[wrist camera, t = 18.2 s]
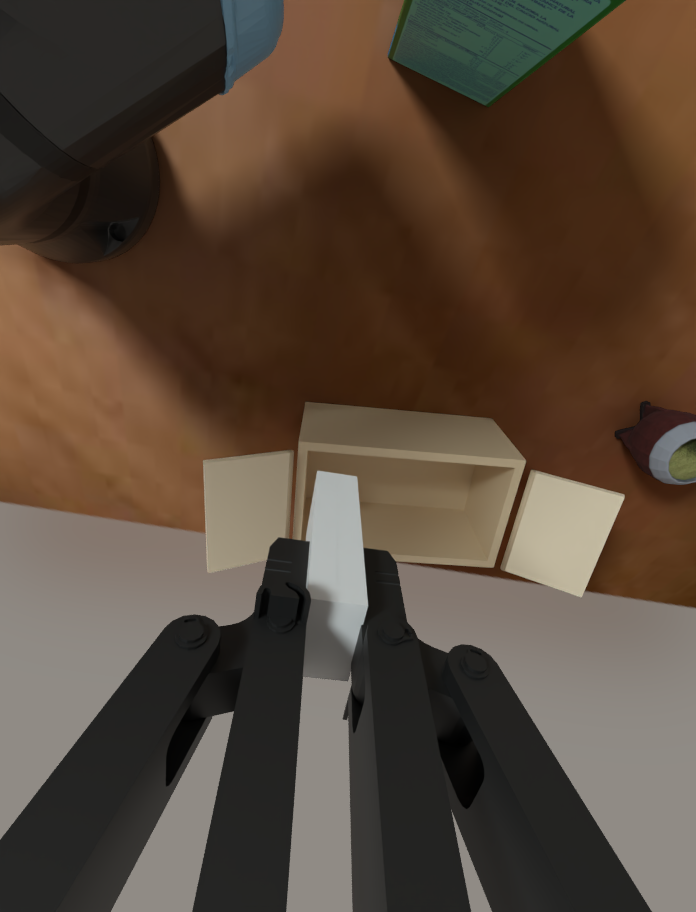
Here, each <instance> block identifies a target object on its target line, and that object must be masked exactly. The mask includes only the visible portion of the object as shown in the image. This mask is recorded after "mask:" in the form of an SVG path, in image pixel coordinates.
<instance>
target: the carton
mask: <svg viewBox="0 0 696 912" xmlns="http://www.w3.org/2000/svg"><path fill="white" fill-rule="evenodd" d="M525 463H526V460H525V458H524V457H523V456H522V455H521V453H520V452H519V451H518V450H517V449H516V447H515V446H514V445H513V444H512V442H511V441H510V440H509V439H508V438H507V436H506V435H505V434H504V433H503V431H502V430H501V429H500V428H499V427H498V425H497V424H496V423H495V422H494V420H493V419H492V418H482V417H471V416H460V415H449V414H437V413H426V412H415V411H404V410H393V409H382V408H371V407H360V406H348V405H337V404H326V403H315V402H305V407H304V413H303V419H302V425H301V431H300V436H299V444H298V460H297V476H296V492H295V507H294V523H293V539H295V540H303V541H306V533H307V526H308V521H309V515H310V509H311V503H312V498H313V492H314V486H315V480H316V475H317V471H324V472H331V473H337V474H344V475H351V476H357V481H358V492H359V504H360V516H361V528H362V540H363V548H370V549H378V550H385V551H388V552H389V553H390V554H391V556H392V557H393V558H394V560H395V561H400V562H414V563H429V564H444V565H459V566H474V567H489V568H493V567H494V564H495V561H496V558H497V554H498V551H499V548H500V545H501V541H502V538H503V535H504V532H505V528H506V525H507V522H508V519H509V515H510V512H511V509H512V506H513V502H514V499H515V496H516V493H517V489H518V486H519V483H520V479H521V476H522V473H523V470H524V466H525Z"/></svg>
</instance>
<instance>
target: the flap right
mask: <svg viewBox="0 0 696 912" xmlns="http://www.w3.org/2000/svg"><path fill="white" fill-rule="evenodd" d="M624 497H625V496H624V494H621V493H617V492H613V491H609V490H606V489H602V488H598V487H595V486H591V485H587V484H584V483H580V482H576V481H573V480H569V479H565V478H561V477H558V476H554V475H550V474H547V473H543V472H539V471H536V470H531V472H530V475H529V478H528V481H527V484H526V488H525V491H524V494H523V497H522V500H521V504H520V507H519V510H518V513H517V516H516V519H515V523H514V526H513V529H512V532H511V535H510V538H509V542H508V545H507V548H506V551H505V554H504V557H503V561H502V564H501V567H500V569H501V570H503V571H507V572H509V573H512V574H515V575H518V576H521V577H524V578H527V579H530V580H532V581H535V582H538V583H541V584H544V585H547V586H550V587H552V588H555V589H558V590H561V591H564V592H567V593H570V594H573V595H575V596H578V597H582V595H583V593H584V591H585V588H586V586H587V584H588V581H589V579H590V577H591V574H592V572H593V570H594V567H595V565H596V563H597V560H598V558H599V556H600V553H601V551H602V549H603V546H604V544H605V542H606V539H607V537H608V535H609V532H610V530H611V528H612V525H613V523H614V521H615V518H616V516H617V514H618V511H619V509H620V507H621V504H622V502H623V500H624Z"/></svg>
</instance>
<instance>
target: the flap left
mask: <svg viewBox="0 0 696 912" xmlns="http://www.w3.org/2000/svg"><path fill="white" fill-rule="evenodd" d="M293 460H294V451H293V450H285V451H277V452H269V453H260V454H252V455H244V456H236V457H227V458H219V459H211V460H203V471H204V498H205V524H206V550H207V571H208V573H212V572H216V571H221V570H226V569H229V568H234V567H239V566H243V565H247V564H252V563H255V562H260V561H265V560H267V558H268V553H269V548H270V546H271V545H272V544H273V543H274V542H275V540H276V539H277V538H278V537H280V538H288V539H289V528H290V511H291V494H292V477H293Z"/></svg>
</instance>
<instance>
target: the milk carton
mask: <svg viewBox="0 0 696 912" xmlns="http://www.w3.org/2000/svg"><path fill="white" fill-rule="evenodd" d="M625 1H626V0H404V3H403V6H402V9H401V13H400V16H399V19H398V22H397V26H396V29H395V32H394V36H393V39H392V42H391V45H390V49H389V52H388V58H390V59H392V60H394V61H396V62H398V63H400V64H402V65H404V66H406V67H408V68H410V69H412V70H414V71H416V72H418V73H420V74H422V75H424V76H426V77H428V78H430V79H432V80H434V81H436V82H438V83H440V84H442V85H444V86H447V87H449V88H451V89H453V90H455V91H457V92H459V93H461V94H463V95H465V96H467V97H469V98H471V99H473V100H475V101H477V102H479V103H481V104H483V105H485V106H487V107H490V106H491V105H492V104H493V103H495V102H496V101H497V100H499V99H500V98H501V97H502V96H504V95H505V94H506V93H508V92H509V91H510V90H511V89H513V88H514V87H515V86H517V85H518V84H519V83H520V82H522V81H523V80H524V79H526V78H527V77H528V76H529V75H531V74H532V73H533V72H535V71H536V70H537V69H538V68H540V67H541V66H542V65H544V64H545V63H546V62H547V61H549V60H550V59H551V58H553V57H554V56H555V55H556V54H558V53H559V52H560V51H562V50H563V49H564V48H565V47H567V46H568V45H569V44H571V43H572V42H573V41H574V40H576V39H577V38H578V37H580V36H581V35H582V34H583V33H585V32H586V31H587V30H589V29H590V28H591V27H592V26H594V25H595V24H596V23H598V22H599V21H600V20H601V19H603V18H604V17H605V16H607V15H608V14H609V13H610V12H612V11H613V10H614V9H616V8H617V7H618V6H619V5H621V4H622V3H623V2H625Z"/></svg>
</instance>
